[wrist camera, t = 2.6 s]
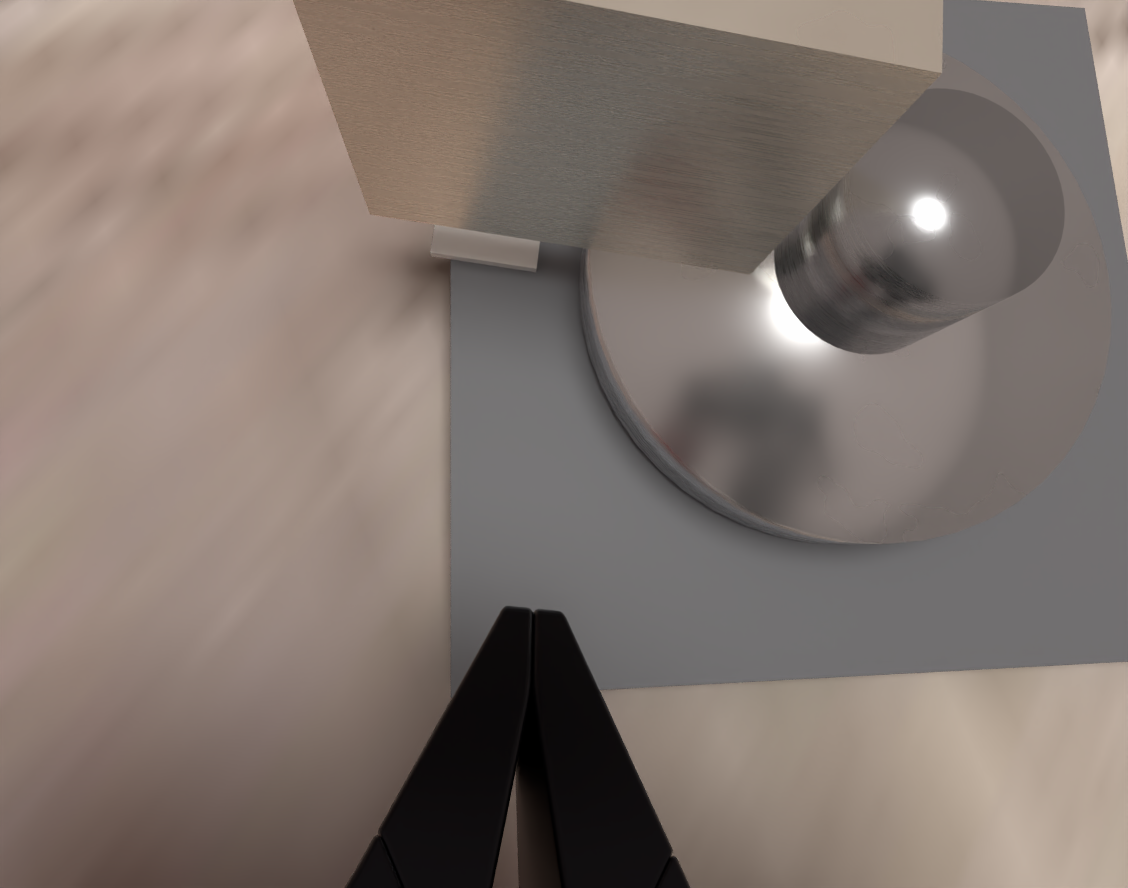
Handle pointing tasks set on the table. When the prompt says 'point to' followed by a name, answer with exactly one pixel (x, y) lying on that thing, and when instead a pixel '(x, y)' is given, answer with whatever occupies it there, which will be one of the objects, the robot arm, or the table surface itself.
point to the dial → (759, 236)
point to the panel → (745, 555)
